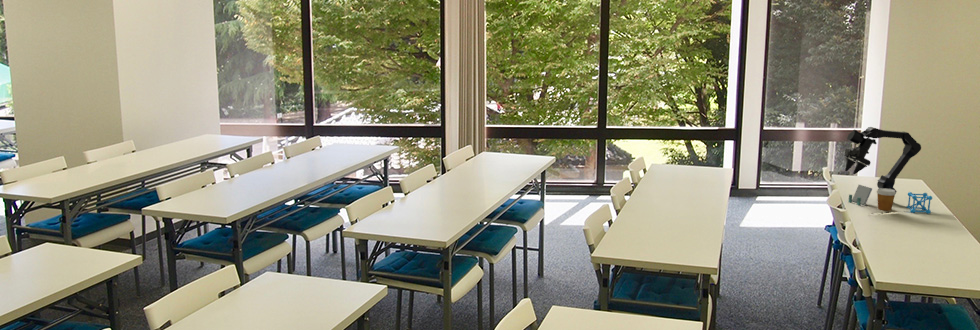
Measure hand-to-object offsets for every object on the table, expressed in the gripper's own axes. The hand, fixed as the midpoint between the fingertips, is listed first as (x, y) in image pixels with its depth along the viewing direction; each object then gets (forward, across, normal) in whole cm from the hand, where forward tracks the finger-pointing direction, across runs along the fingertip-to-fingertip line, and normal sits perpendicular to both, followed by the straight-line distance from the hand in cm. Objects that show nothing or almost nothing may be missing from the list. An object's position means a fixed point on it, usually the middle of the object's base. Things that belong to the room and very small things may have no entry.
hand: (849, 172), depth 440 cm
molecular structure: (+4, +19, +35) cm, 40 cm away
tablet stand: (+14, +4, +13) cm, 20 cm away
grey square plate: (+14, +4, +11) cm, 18 cm away
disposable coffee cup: (+12, +18, +19) cm, 28 cm away
